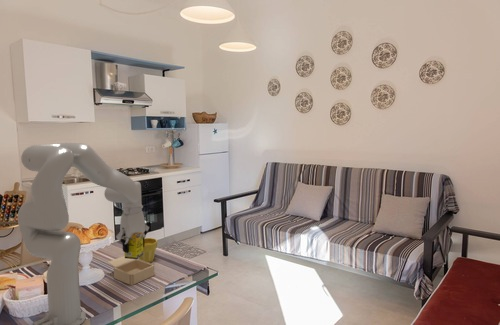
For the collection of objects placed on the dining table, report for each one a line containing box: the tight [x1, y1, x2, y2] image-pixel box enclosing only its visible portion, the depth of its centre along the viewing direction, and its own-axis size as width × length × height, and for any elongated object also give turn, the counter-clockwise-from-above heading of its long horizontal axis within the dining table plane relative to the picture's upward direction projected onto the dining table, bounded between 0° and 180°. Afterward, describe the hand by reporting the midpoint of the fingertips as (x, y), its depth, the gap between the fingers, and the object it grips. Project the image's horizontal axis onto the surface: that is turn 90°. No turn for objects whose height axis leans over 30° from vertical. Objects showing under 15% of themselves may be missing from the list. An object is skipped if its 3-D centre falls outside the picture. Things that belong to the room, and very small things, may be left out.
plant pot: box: [138, 237, 158, 263], centre depth 171 cm, size 10×10×10 cm
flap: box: [107, 255, 136, 268], centre depth 158 cm, size 11×6×1 cm, turn 146°
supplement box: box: [124, 232, 143, 260], centre depth 152 cm, size 6×6×11 cm
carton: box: [113, 258, 155, 286], centre depth 153 cm, size 13×13×5 cm
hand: (133, 248), depth 153 cm, fingers closed on supplement box, 7 cm apart
